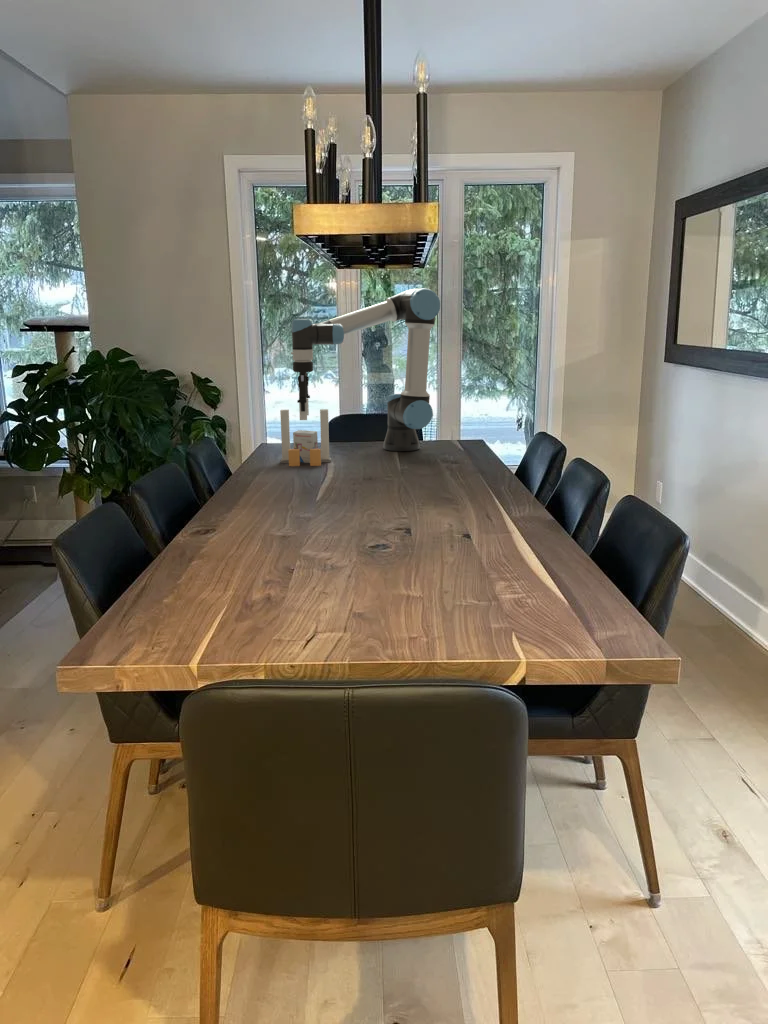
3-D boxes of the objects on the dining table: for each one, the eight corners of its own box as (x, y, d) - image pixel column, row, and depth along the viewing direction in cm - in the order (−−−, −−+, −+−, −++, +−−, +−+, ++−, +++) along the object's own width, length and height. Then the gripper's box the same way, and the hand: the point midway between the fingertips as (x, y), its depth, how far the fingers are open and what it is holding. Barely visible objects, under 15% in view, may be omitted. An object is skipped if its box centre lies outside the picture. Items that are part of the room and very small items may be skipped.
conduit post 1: (292, 460, 298) (290, 409, 293) (291, 462, 294) (290, 410, 289) (281, 460, 298) (279, 409, 293) (280, 463, 294) (278, 410, 289)
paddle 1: (300, 464, 291) (299, 448, 289) (299, 465, 288) (299, 450, 286) (289, 464, 291) (288, 449, 289) (288, 466, 288) (288, 450, 286)
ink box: (293, 462, 295) (292, 431, 292) (298, 459, 300) (297, 429, 297) (313, 463, 293) (313, 432, 290) (318, 461, 297) (317, 430, 294)
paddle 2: (321, 464, 291) (320, 448, 290) (320, 465, 288) (320, 449, 287) (310, 464, 291) (310, 448, 290) (310, 465, 288) (309, 450, 287)
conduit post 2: (331, 460, 299) (330, 408, 294) (331, 462, 295) (329, 410, 289) (319, 460, 299) (318, 409, 294) (319, 462, 294) (318, 410, 289)
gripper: (294, 359, 298) (296, 413, 304) (290, 363, 274) (292, 422, 280) (314, 359, 299) (315, 413, 304) (311, 363, 275) (312, 422, 280)
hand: (304, 417), depth 292 cm, fingers open, 13 cm apart
